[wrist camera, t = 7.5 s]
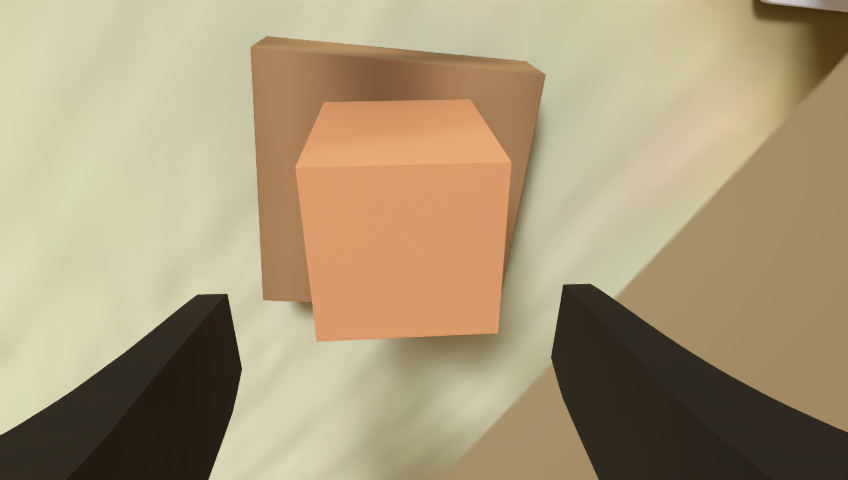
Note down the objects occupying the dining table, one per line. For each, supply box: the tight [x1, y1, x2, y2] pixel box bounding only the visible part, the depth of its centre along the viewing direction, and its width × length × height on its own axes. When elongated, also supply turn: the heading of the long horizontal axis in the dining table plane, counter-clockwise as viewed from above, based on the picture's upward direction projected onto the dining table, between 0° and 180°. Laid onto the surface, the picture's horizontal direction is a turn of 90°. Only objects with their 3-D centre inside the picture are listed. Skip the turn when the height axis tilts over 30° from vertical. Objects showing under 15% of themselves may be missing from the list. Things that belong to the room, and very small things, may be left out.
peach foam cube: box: [295, 99, 511, 342], centre depth 15 cm, size 5×5×6 cm
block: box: [251, 36, 545, 302], centre depth 19 cm, size 9×9×3 cm
